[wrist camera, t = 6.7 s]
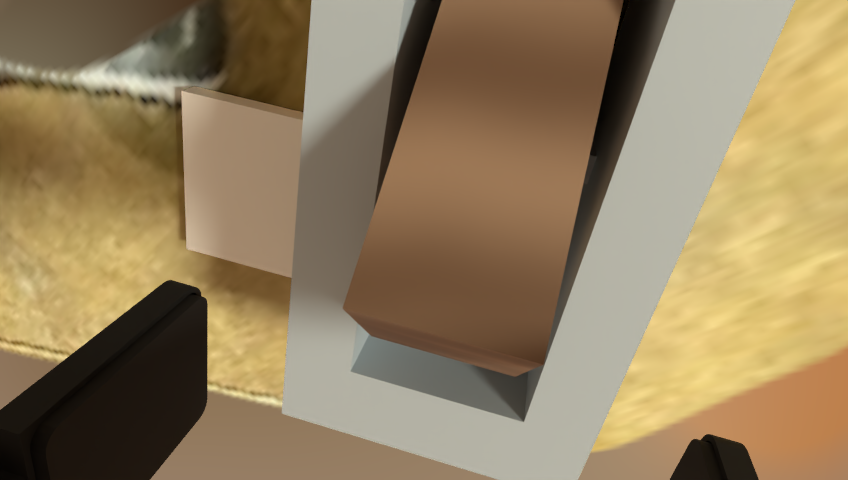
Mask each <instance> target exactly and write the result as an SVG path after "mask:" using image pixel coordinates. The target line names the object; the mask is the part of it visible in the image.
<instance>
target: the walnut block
mask: <svg viewBox="0 0 848 480" xmlns="http://www.w3.org/2000/svg"><path fill="white" fill-rule="evenodd" d="M622 5H623V0H442V2H441V5H440V8H439V11H438V14H437V17H436V20H435V23H434V26H433V30H432V33H431V36H430V39H429V42H428V45H427V48H426V51H425V54H424V57H423V60H422V64H421V67H420V70H419V73H418V76H417V79H416V82H415V85H414V88H413V91H412V95H411V98H410V101H409V104H408V107H407V110H406V113H405V116H404V119H403V122H402V125H401V129H400V132H399V135H398V138H397V141H396V144H395V147H394V150H393V153H392V156H391V160H390V163H389V166H388V169H387V172H386V175H385V178H384V181H383V184H382V187H381V190H380V194H379V197H378V200H377V203H376V206H375V209H374V212H373V215H372V218H371V221H370V224H369V228H368V231H367V234H366V237H365V240H364V243H363V246H362V249H361V252H360V255H359V259H358V262H357V265H356V268H355V271H354V274H353V277H352V280H351V283H350V286H349V289H348V293H347V296H346V299H345V302H344V305H343V308H342V309H343V310H344V311H346V312H347V313H348V314H349V315H350V316H351V317H352V318H353V319H354V320H355V321H356V322H357V323H358V324H359V325H360V326H361V327H362V328H363V329H364V330H365V331H366V332H367V333H369V334H370V335H371V336H372V337H376V338H379V339H383V340H386V341H390V342H393V343H397V344H401V345H404V346H408V347H411V348H415V349H418V350H422V351H425V352H429V353H432V354H436V355H439V356H443V357H446V358H450V359H454V360H457V361H461V362H464V363H468V364H471V365H475V366H478V367H482V368H485V369H489V370H492V371H496V372H499V373H503V374H506V375H510V376H514V377H516V376H518V375H521V374H523V373H525V372H528V371H530V370H532V369H535V368H537V367H539V366H542V365H544V361H545V356H546V352H547V347H548V343H549V338H550V334H551V329H552V324H553V320H554V315H555V311H556V306H557V302H558V297H559V292H560V288H561V283H562V279H563V274H564V270H565V265H566V260H567V256H568V251H569V247H570V242H571V238H572V233H573V228H574V224H575V219H576V215H577V210H578V206H579V201H580V197H581V192H582V187H583V183H584V178H585V174H586V169H587V165H588V160H589V155H590V151H591V146H592V142H593V137H594V133H595V128H596V123H597V119H598V114H599V110H600V105H601V101H602V96H603V91H604V87H605V82H606V78H607V73H608V69H609V64H610V59H611V55H612V50H613V46H614V41H615V37H616V32H617V28H618V23H619V18H620V14H621V9H622Z"/></svg>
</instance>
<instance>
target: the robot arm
mask: <svg viewBox="0 0 848 480" xmlns="http://www.w3.org/2000/svg"><path fill="white" fill-rule="evenodd" d="M206 403H207V300H206V298H204V297H201V292H200V290H199V289H198V288H197V287H193V286H190V285H186V284H183V283H179V282H176V281H172V280H169V281H166V282H164V283H163V284H162V285H160V286H159V287H158V288H156V289H155V290H154V291H153V292H151V293H150V294H149V295H147V296H146V297H145V298H144V299H142V300H141V301H140V302H138V303H137V304H136V305H135V306H133V307H132V308H131V309H129V310H128V311H127V312H126V313H124V314H123V315H122V316H120V317H119V318H118V319H117V320H115V321H114V322H113V323H111V324H110V325H109V326H108V327H106V328H105V329H104V330H102V331H101V332H100V333H99V334H97V335H96V336H95V337H93V338H92V339H91V340H90V341H88V342H87V343H86V344H84V345H83V346H82V347H81V348H79V349H78V350H77V351H75V352H74V353H73V354H72V355H70V356H69V357H68V358H66V359H65V360H64V361H63V362H61V363H60V364H59V365H57V366H56V367H55V368H54V369H53V370H51V371H50V372H48V373H47V374H46V375H45V376H43V377H42V378H41V379H39V380H38V381H37V382H36V383H34V384H33V385H32V386H30V387H29V388H28V389H27V390H25V391H24V392H23V393H21V394H20V395H19V396H18V397H16V398H15V399H14V400H12V401H11V402H10V403H9V404H7V405H6V406H5V407H3V408H2V409H1V410H0V480H150V479H151V478H152V476H153V475H154V474H155V473H156V471H157V470H158V469H159V468H160V466H161V465H162V464H163V463H164V462H165V460H166V459H167V458H168V457H169V455H170V454H171V453H172V452H173V450H174V449H175V448H176V447H177V446H178V444H179V443H180V442H181V441H182V439H183V438H184V437H185V435H187V433H188V432H189V431H190V429H191V428H192V427H193V426H194V425H195V423H196V422H197V421H198V420H199V418H200V417H201V416H202V414H203V412H204V410H205V407H206ZM670 480H758V477H757V474H756V472H755V469H754V467H753V464H752V461H751V459H750V456H749V454H748V451H747V449H746V448H745V446H744V445H743V444H741V443H738V442H735V441H731V440H728V439H724V438H721V437H717V436H714V435H710V434H707V435H705V436H704V437H703V438H702V439H701V440H698V439H693V440H692V441H691V442H690V444H689V445H688V447H687V449H686V451H685V453H684V455H683V456H682V458H681V460H680V462H679V464H678V465H677V467H676V469H675V471H674V473H673V475H672V476H671V478H670Z"/></svg>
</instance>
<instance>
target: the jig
mask: <svg viewBox="0 0 848 480" xmlns="http://www.w3.org/2000/svg"><path fill="white" fill-rule="evenodd" d="M441 2H442V0H312V1H311V15H310V29H309V43H308V57H307V71H306V85H305V99H304V112H303V126H302V140H301V154H300V168H299V182H298V196H297V210H296V224H295V238H294V252H293V265H292V279H291V293H290V307H289V321H288V335H287V349H286V363H285V377H284V391H283V405H282V414H285V415H288V416H292V417H295V418H298V419H301V420H305V421H308V422H311V423H314V424H318V425H321V426H324V427H328V428H331V429H334V430H337V431H341V432H344V433H347V434H351V435H354V436H357V437H360V438H364V439H367V440H370V441H374V442H377V443H380V444H383V445H387V446H390V447H394V448H396V449H400V450H403V451H406V452H410V453H413V454H417V455H420V456H423V457H426V458H430V459H433V460H436V461H439V462H442V463H446V464H449V465H453V466H456V467H459V468H462V469H465V470H469V471H472V472H475V473H479V474H482V475H485V476H488V477H492V478H495V479H498V480H578V478H579V476H580V474H581V472H582V470H583V467H584V465H585V463H586V461H587V459H588V456H589V454H590V452H591V450H592V448H593V445H594V443H595V441H596V439H597V436H598V434H599V432H600V430H601V428H602V425H603V423H604V421H605V419H606V417H607V414H608V412H609V410H610V408H611V406H612V403H613V401H614V399H615V397H616V395H617V392H618V390H619V388H620V386H621V384H622V381H623V379H624V377H625V375H626V373H627V370H628V368H629V366H630V364H631V362H632V359H633V357H634V355H635V353H636V351H637V348H638V346H639V344H640V342H641V340H642V337H643V335H644V333H645V331H646V329H647V326H648V324H649V322H650V320H651V317H652V315H653V313H654V311H655V309H656V306H657V304H658V302H659V300H660V298H661V295H662V293H663V291H664V289H665V287H666V284H667V282H668V280H669V278H670V276H671V273H672V271H673V269H674V267H675V265H676V262H677V260H678V258H679V256H680V254H681V251H682V249H683V247H684V245H685V243H686V240H687V238H688V236H689V234H690V232H691V229H692V227H693V225H694V223H695V221H696V218H697V216H698V214H699V212H700V210H701V207H702V205H703V203H704V201H705V198H706V196H707V194H708V192H709V190H710V187H711V185H712V183H713V181H714V179H715V176H716V174H717V172H718V170H719V168H720V165H721V163H722V161H723V159H724V157H725V154H726V152H727V150H728V148H729V146H730V143H731V141H732V139H733V137H734V135H735V132H736V130H737V128H738V126H739V124H740V121H741V119H742V117H743V115H744V113H745V110H746V108H747V106H748V104H749V102H750V99H751V97H752V95H753V93H754V90H755V88H756V86H757V84H758V82H759V79H760V77H761V75H762V73H763V71H764V68H765V66H766V64H767V62H768V60H769V57H770V55H771V53H772V51H773V49H774V46H775V44H776V42H777V40H778V38H779V35H780V33H781V31H782V29H783V27H784V24H785V22H786V20H787V18H788V16H789V13H790V11H791V9H792V7H793V5H794V2H795V0H630V1H629V4H628V7H627V10H626V13H625V16H624V20H623V23H622V26H621V29H620V32H619V35H618V38H617V41H616V44H615V47H614V50H613V54H612V57H611V60H610V64H609V69H608V73H607V78H606V82H605V87H604V91H603V96H602V101H601V105H600V110H599V114H598V119H597V123H596V128H595V133H594V137H593V142H592V146H591V151H590V155H589V160H588V165H587V169H586V174H585V178H584V183H583V187H582V192H581V197H580V201H579V206H578V210H577V215H576V219H575V224H574V228H573V233H572V238H571V242H570V247H569V251H568V256H567V260H566V265H565V270H564V274H563V279H562V283H561V288H560V292H559V297H558V302H557V306H556V311H555V315H554V320H553V324H552V329H551V334H550V338H549V343H548V347H547V352H546V356H545V361H544V365H542V366H539V367H537V368H535V369H532V370H530V371H528V372H525V373H523V374H521V375H518V376H516V377H514V376H510V375H506V374H503V373H499V372H496V371H492V370H489V369H485V368H482V367H478V366H475V365H471V364H468V363H464V362H461V361H457V360H454V359H450V358H446V357H443V356H439V355H436V354H432V353H429V352H425V351H422V350H418V349H415V348H411V347H408V346H404V345H401V344H397V343H393V342H390V341H386V340H383V339H379V338H376V337H372V336H371V335H370V334H369V333H367V332H366V331H365V330H364V329H363V328H362V327H361V326H360V325H359V324H358V323H357V322H356V321H355V320H354V319H353V318H352V317H351V316H350V315H349V314H348V313H347V312H346V311H344V310H343V309H342V308H343V305H344V302H345V299H346V296H347V293H348V289H349V286H350V283H351V280H352V277H353V274H354V271H355V268H356V265H357V262H358V259H359V255H360V252H361V249H362V246H363V243H364V240H365V237H366V234H367V231H368V228H369V224H370V221H371V218H372V215H373V212H374V209H375V206H376V203H377V200H378V197H379V194H380V190H381V187H382V184H383V181H384V178H385V175H386V172H387V169H388V166H389V163H390V160H391V156H392V153H393V150H394V147H395V144H396V141H397V138H398V135H399V132H400V129H401V125H402V122H403V119H404V116H405V113H406V110H407V107H408V104H409V101H410V98H411V95H412V91H413V88H414V85H415V82H416V79H417V76H418V73H419V70H420V67H421V64H422V60H423V57H424V54H425V51H426V48H427V45H428V42H429V39H430V36H431V33H432V30H433V26H434V23H435V20H436V17H437V14H438V11H439V8H440V5H441Z"/></svg>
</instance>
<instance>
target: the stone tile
mask: <svg viewBox="0 0 848 480" xmlns="http://www.w3.org/2000/svg"><path fill="white" fill-rule="evenodd" d="M181 97H182V127H183V157H184V187H185V217H186V247H187V249H188V250H192V251H195V252H199V253H203V254H206V255H210V256H213V257H217V258H221V259H224V260H228V261H232V262H235V263H239V264H242V265H246V266H250V267H253V268H257V269H261V270H264V271H268V272H271V273H275V274H279V275H282V276H286V277H290V278H292V265H293V252H294V238H295V224H296V210H297V196H298V182H299V168H300V154H301V140H302V126H303V112H300V111H295V110H291V109H287V108H283V107H279V106H275V105H271V104H266V103H262V102H258V101H254V100H250V99H246V98H242V97H237V96H233V95H229V94H225V93H221V92H217V91H212V90H208V89H204V88H200V87H196V86H194V87H191V88H188V89H185V90H182V91H181Z"/></svg>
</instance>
